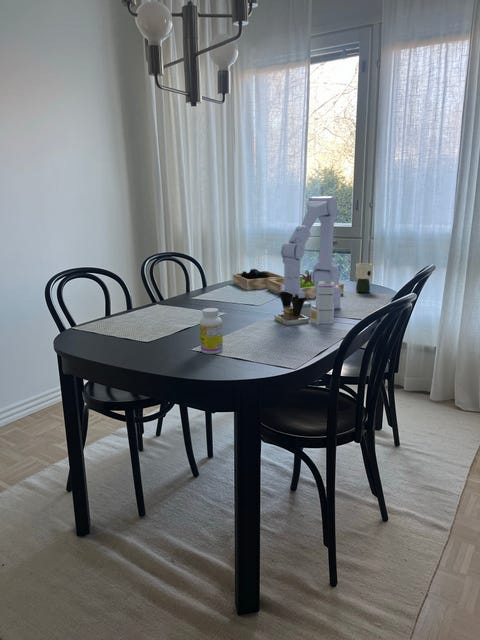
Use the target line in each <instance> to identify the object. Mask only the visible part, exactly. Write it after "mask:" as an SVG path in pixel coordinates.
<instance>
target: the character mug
mask: <svg viewBox="0 0 480 640" xmlns="http://www.w3.org/2000/svg"><path fill="white" fill-rule="evenodd" d="M372 274H373V264H372V263H366V262H360V263H359V262H358V263H356V265H355V278H357V282H356V286H355V291H356V292H360V293H362V292H363V293H369V292H370V291H371V285H370V280H369V279H372V276H373V275H372Z"/></svg>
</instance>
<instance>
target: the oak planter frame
mask: <svg viewBox="0 0 480 640" xmlns="http://www.w3.org/2000/svg"><path fill="white" fill-rule="evenodd" d="M305 276H306V277H307V275H305ZM302 279H303V280H305V278H304V277H303V276H302V275H300V281H301V282H302ZM311 279H312V275H311ZM305 281H306V280H305ZM312 283H313V282H312ZM281 285H284V278H280V279H269V280H268V288H267V290H268V291H269V290H271V291H270V292H272V291H273V292H272V293H274V292H275V293H274V294H277V295H278V293H279V292H282V291H281V290H280V286H281ZM337 286H338V287H339V288H340V292H341V294H343V295H344V291H345V290H344V288H345V284H344V283H343V282H340V281H339V282H338V284H337ZM300 289H301V290H302V291H303V292H305V297H306V300H309V299H308V298H311V299H316V298H315V297H316V286H315V287H306V288H300ZM292 297H295V295H293V296H292Z"/></svg>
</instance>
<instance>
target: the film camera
mask: <svg viewBox="0 0 480 640" xmlns="http://www.w3.org/2000/svg"><path fill="white" fill-rule="evenodd" d="M262 271H263V272H260V270H258V269H256V268H251V269H250V270H249V272H248V271H244V270H243V271H242V272H241V273H242V274H241V277H243V278H246V279H248V280H250V279H261V278H269V277H270V276H269V275H268V274H267V272H264V271H265V270H262Z"/></svg>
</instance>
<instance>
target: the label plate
mask: <svg viewBox="0 0 480 640" xmlns="http://www.w3.org/2000/svg"><path fill="white" fill-rule="evenodd" d="M309 323H312V324H314V325H316V326H319V325H320V323H319V311H318V309H316V308H314V307H311V310H310V316H309Z"/></svg>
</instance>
